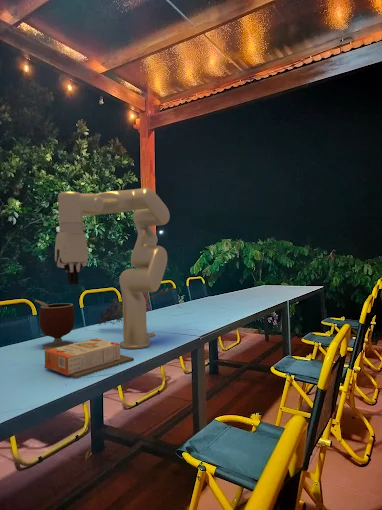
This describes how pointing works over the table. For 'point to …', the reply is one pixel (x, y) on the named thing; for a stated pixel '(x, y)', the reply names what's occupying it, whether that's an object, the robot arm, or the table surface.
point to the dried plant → (120, 310)
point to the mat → (100, 367)
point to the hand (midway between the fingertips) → (73, 284)
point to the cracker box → (81, 356)
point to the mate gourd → (56, 322)
